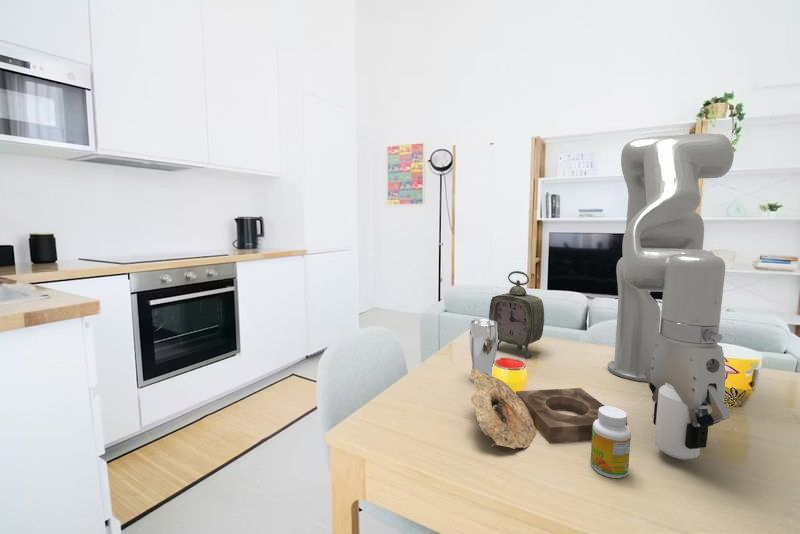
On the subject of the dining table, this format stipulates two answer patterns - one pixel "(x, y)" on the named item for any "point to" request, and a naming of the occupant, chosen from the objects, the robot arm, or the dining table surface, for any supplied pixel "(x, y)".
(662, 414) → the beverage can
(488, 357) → the beer glass
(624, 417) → the supplement bottle
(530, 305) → the tabletop clock
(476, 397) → the holed granite stone
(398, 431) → the dining table surface
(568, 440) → the can holder
